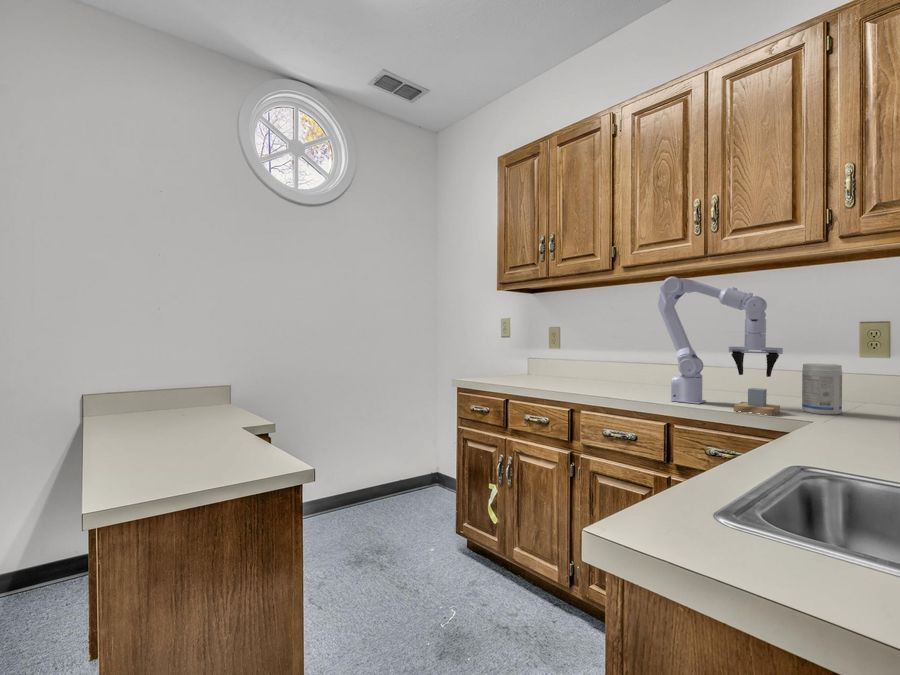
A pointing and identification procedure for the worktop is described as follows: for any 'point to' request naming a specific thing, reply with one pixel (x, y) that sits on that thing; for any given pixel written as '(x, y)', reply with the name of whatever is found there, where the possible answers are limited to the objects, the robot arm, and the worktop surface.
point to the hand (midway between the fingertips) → (754, 375)
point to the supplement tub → (822, 388)
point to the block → (757, 397)
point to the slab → (757, 408)
